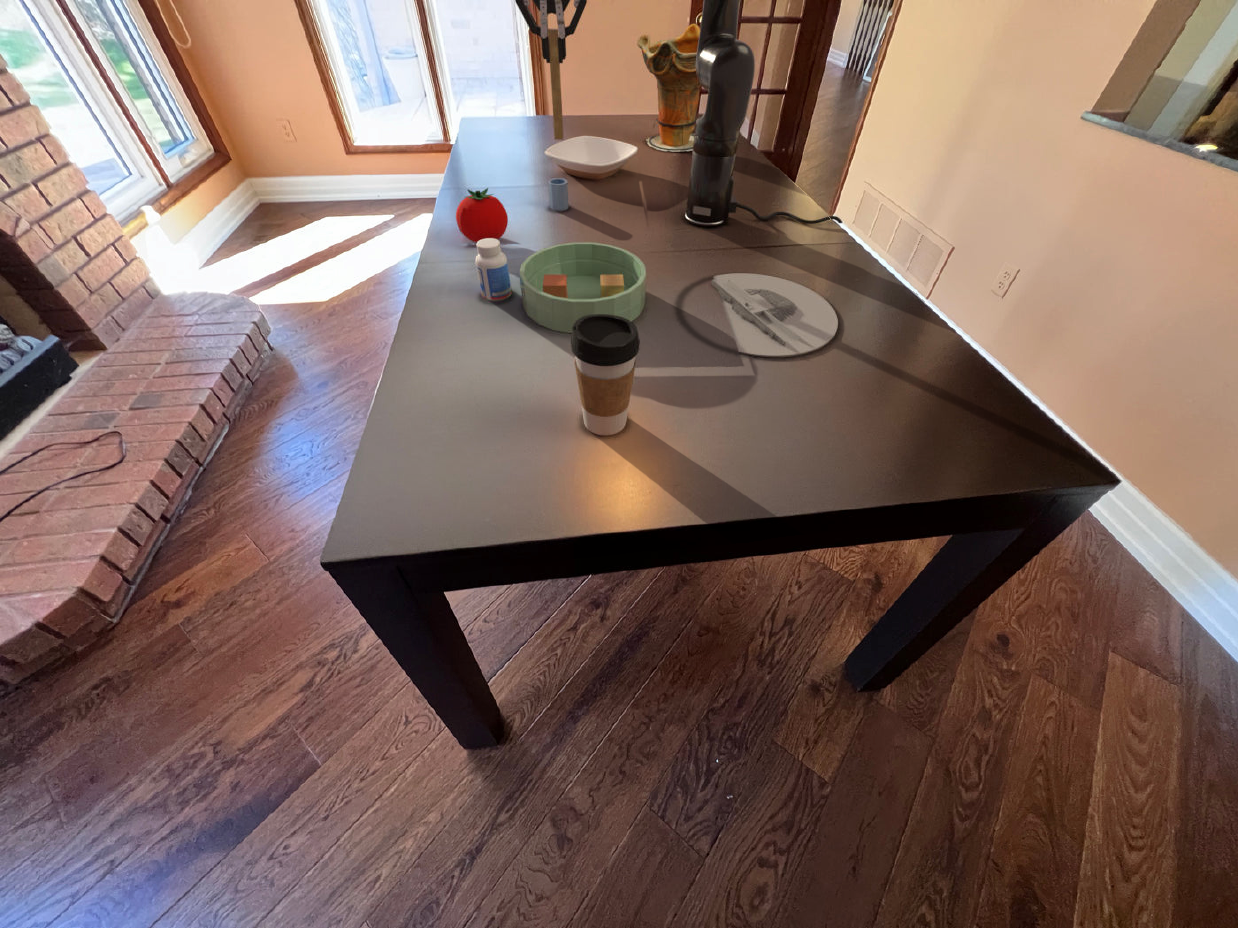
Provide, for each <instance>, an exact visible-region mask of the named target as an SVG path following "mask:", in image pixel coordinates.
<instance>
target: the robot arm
mask: <svg viewBox="0 0 1238 928" xmlns="http://www.w3.org/2000/svg"><path fill="white" fill-rule="evenodd" d="M514 1H515V4H516V6H517V7H518V10H519V12H520V13H521V15H522V17H523V19H524V21H525V22H526V25H527V26H528V29H529V31H530V33H532V34H534V35H536V36H538V37H539V38H540V40H541V54H542V59H543V60H545V62H546V64H550V53H549V39H548V29H549V15H550V14H553V15H555V16H556V23H557V24H556V25H557V29H558V55H559V63H560V64H564V61H565V60H566V58H567V41H566V38H568V37H569V36H572V35H574V34H575V32H576V30H577V27H578V25H579V23H580V20H581V18H582V16H583V13H584V10H585V8H586V5H587V2H588V0H573V7H574V8H575V10H574V13H573V15H572V18H571V20H570V22H569V25H567V26H566V22H565V12H566V9H567V7H568V6H569V4H570V1H571V0H532V2H533V3H534V6H535V7H536V8H537V10H538V11H539V18H540V21H539V22H540V25H538V23H537V22H536V20H535V18H534V16H533V13H532V11H531V10H530V9H529V6H530V0H514ZM740 3H741V0H703V4H702V11H701V12H702V13H701V20H700V27H699V28H700V34H699V41H698V48H697V56H696V75H697V78H698V81H699V83H700V85H701V86H700V87H702V88H703V90H705V91H707V99H706V100H707V101H706V106H705V109H704V113H703V114H702V115H699V116H698V117H697V118H696V123H695V124H694V144H693V151H692V152H691V153H692V155H691V163H690V172H689V182H688V192H687V199H686V207H685V215H684V218H685V220H686V221H687V222H688V223H689V224H691V225H694V226H698V227H704V228H705V227H707V228H713V227H718V226H721V225H728V221H729V214H735V213H736V211H737V208H739V209H742V210H745V211H747V212H749V213H750V214H752V215H753V216H754V217H755V218H756V219H757V220H759V221H768V220H770V219H771V218H773V217H776V216H785V217H788V218H790V219H792V220H795V221H796V222H799V223H802V224H806V225H814V224H815V225H816V224H820V223H823V222H827V221H829V220H830V218H831V220H834V221H835V222H837V223H838V224H843V220H842V219H841V218H840V217H838V216H836V215H829V217H830V218H829V217H828V216H825V217H822V218H818V219H813V220H811V219H810V220H809V219H803V218H801V217H799V216H797V215H794V214H792V213H789V212H787V211H774V212H772V213H770V214H768V215H766V216H761V215H760V214H759V213H758V212H757V211H756V210H755V209H754V208H752V207H749V206H748V205H745V204H741V203H738V201H737V199H736V197H735V195H733V190H734V185H735V178H734V176H733V175H734V167H735V162H736V157H737V150H738V143H739V137H740V133H741V132H740V131H741V128H742V126H743V124H744V122H745V120H746V118H747V114H748V109H749V106H750V105H749V104H750V99H751V95H752V91H753V85H754V78H755V71H756V61H755V60H756V59H755V54H754V51H753V49H752V48H751V46H750V45H749V44H748V43H746V42H744V41H742V40H740V39H738V23H739V11H740Z"/></svg>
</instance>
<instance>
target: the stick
mask: <svg viewBox="0 0 1238 928" xmlns="http://www.w3.org/2000/svg"><path fill="white" fill-rule="evenodd" d="M558 37H559V33H558V28H548V39H549V53H550V63H549V70H550V72H549V73H550V87H551V89H550V90H551V104H552V105H551V106H552V119H553V121H552V122H553V136H554V140H556V141H558V140H559V141H560V140H561V141H564V137H565V136H564V119H563V101H562V99H563V98H562V80H561V63H559V55H558Z"/></svg>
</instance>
